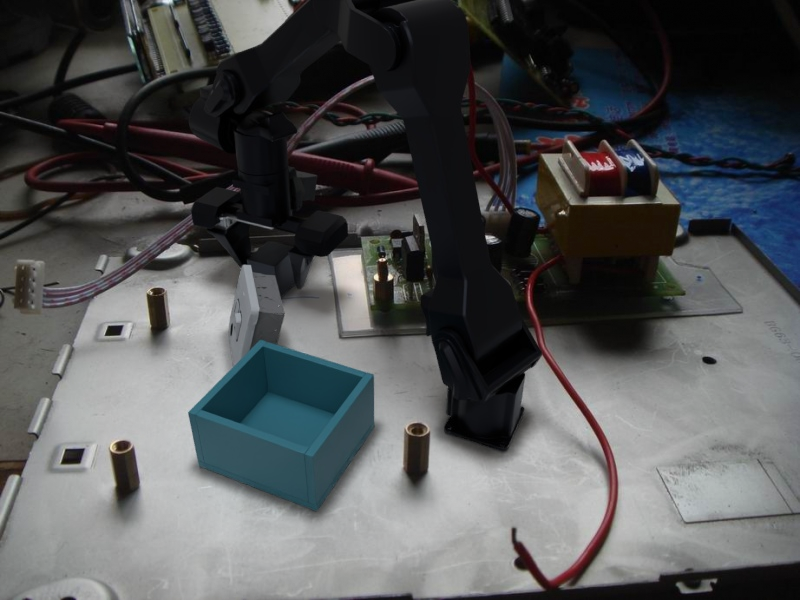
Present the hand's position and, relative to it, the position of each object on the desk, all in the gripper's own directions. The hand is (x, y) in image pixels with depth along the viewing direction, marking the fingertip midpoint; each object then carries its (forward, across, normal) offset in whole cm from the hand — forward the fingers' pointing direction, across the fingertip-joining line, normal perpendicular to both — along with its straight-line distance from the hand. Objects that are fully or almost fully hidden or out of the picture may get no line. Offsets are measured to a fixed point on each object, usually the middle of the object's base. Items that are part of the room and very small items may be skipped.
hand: (274, 280), depth 94 cm
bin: (+1, -16, +23) cm, 28 cm away
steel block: (+1, 0, 0) cm, 1 cm away
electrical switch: (+1, -5, +12) cm, 13 cm away
